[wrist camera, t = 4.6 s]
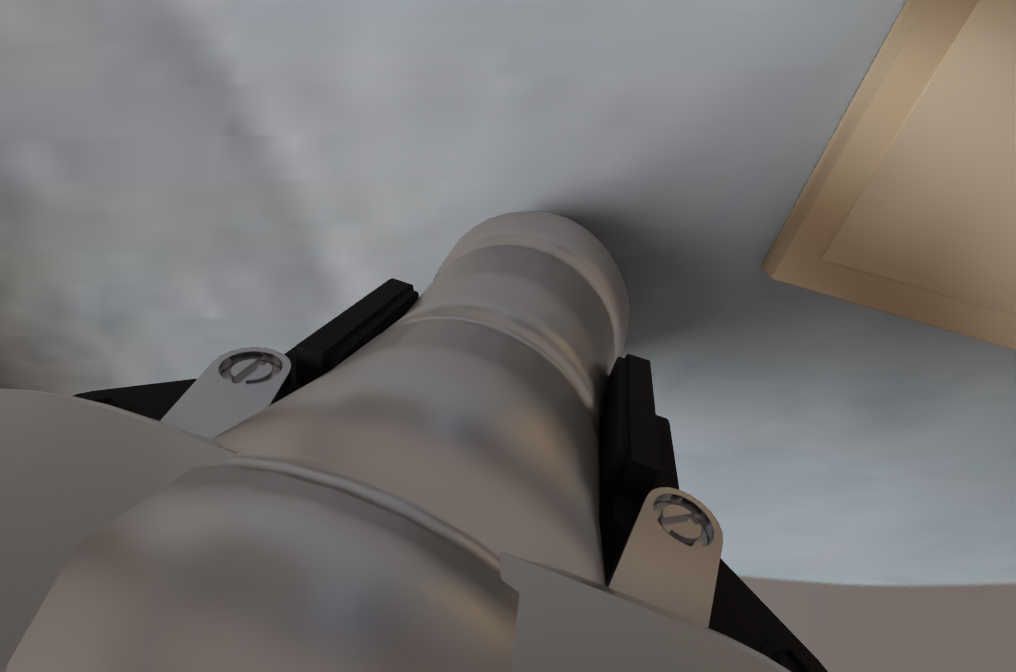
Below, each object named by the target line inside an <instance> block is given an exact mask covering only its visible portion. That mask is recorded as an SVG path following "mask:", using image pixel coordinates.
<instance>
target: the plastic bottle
mask: <svg viewBox="0 0 1016 672" xmlns="http://www.w3.org/2000/svg"><path fill="white" fill-rule="evenodd" d="M629 322H630V304H629V298H628V294H627V290H626V285H625V282H624V280H623V278H622V276H621V273H620V271H619V269H618V267H617V265H616V263H615V261H614V260H613V258H612V256H611V255H610V254H609V252H608V251H607V250H606V248H605V247H604V245H603V244H602V243H601V242H600V241H599V240H598V239H597V238H596V237H595V236H594V235H593V234H592V233H591V232H589V231H588V230H587V229H586V228H584V227H582V226H581V225H579V224H577V223H576V222H574V221H572V220H570V219H567V218H565V217H562V216H559V215H556V214H552V213H546V212H539V211H531V212H516V213H507V214H503V215H500V216H496V217H493V218H489V219H488V220H486V221H484V222H482V223H480V224H478V225H477V226H475V227H473V228H472V229H471V230H470V231H468V232H467V233H466V234H465V235H464V236H463V237H462V238H461V239H460V240H459V241H458V242H457V244H456V245H455V246H454V248H453V249H452V251H451V252H450V253H449V255H448V256H447V257H446V259H445V260H444V262H443V263H442V264H441V266H440V267H439V269H438V271H437V273H436V275H435V278H434V280H433V282H432V283H431V284H430V286H429V287H428V288H427V289H426V290H425V291H424V293H423V294H422V295H421V296H420V297H419V298H418V300H417V301H416V302H415V303H414V304H413V305H412V307H411V308H410V309H409V310H408V311H407V312H406V314H405V315H404V316H403V317H402V318H401V319H399V320H398V321H397V322H395V323H394V324H392V325H391V326H390V327H389V328H388V329H386V330H385V331H384V332H383V333H382V334H380V335H378V336H376V337H375V338H374V339H372V340H371V341H370V342H368V343H367V344H366V345H364V346H363V347H362V348H360V349H359V350H358V351H356V352H355V353H354V354H352V355H351V356H349V357H348V358H347V359H345V360H344V361H343V362H341V363H340V364H339V365H337V366H336V367H335V368H333V369H332V370H331V371H329V372H328V373H326V374H324V375H322V376H321V377H319V378H317V379H315V380H314V381H312V382H310V383H308V384H307V385H305V386H303V387H302V388H300V389H298V390H296V391H295V392H293V393H291V394H289V395H288V396H286V397H284V398H282V399H281V400H279V401H277V402H275V403H274V404H272V405H270V406H268V407H267V408H265V409H263V410H261V411H260V412H258V413H256V414H254V415H253V416H251V417H249V418H247V419H246V420H244V421H242V422H240V423H239V424H237V425H235V426H234V427H232V428H230V429H228V430H227V431H225V432H223V433H221V434H220V435H218V436H216V437H214V438H213V439H212V440H215V442H217V443H219V444H220V445H221V446H223V447H224V448H225V449H228V450H230V451H233V452H236V453H237V454H238V455H236V456H234V457H233V458H231V459H229V460H227V461H226V462H224V463H222V464H220V465H219V466H203V467H193V468H191V469H189V470H188V471H186V472H185V473H184V474H182V475H181V476H179V477H178V478H176V479H175V480H174V481H172V482H171V483H169V484H168V485H166V486H165V487H164V488H162V489H161V490H159V491H158V492H156V493H155V494H153V495H152V496H150V497H149V498H147V499H146V500H144V501H143V502H141V503H140V504H138V505H137V506H135V507H134V508H132V509H131V510H129V511H128V512H126V513H124V514H123V515H121V516H120V517H118V518H117V519H115V520H113V521H112V522H110V523H109V524H107V525H105V526H104V527H102V528H101V529H99V530H97V531H96V532H94V533H93V534H91V535H89V536H88V537H86V538H85V539H83V540H81V541H80V542H78V543H77V545H76V547H75V548H74V550H73V552H72V554H71V555H70V557H69V559H68V560H67V562H66V564H65V566H64V567H63V569H62V571H61V573H60V574H59V576H58V578H57V579H56V581H55V583H54V585H53V586H52V588H51V590H50V592H49V593H48V595H47V597H46V598H45V600H44V602H43V604H42V605H41V607H40V609H39V610H38V612H37V614H36V616H35V617H34V619H33V621H32V623H31V624H30V626H29V628H28V629H27V631H26V633H25V635H24V636H23V638H22V640H21V642H20V643H19V645H18V647H17V648H16V650H15V652H14V654H13V655H12V657H11V659H10V661H9V662H8V665H7V668H6V671H5V672H511V663H512V652H513V644H514V636H515V628H516V620H517V612H518V603H519V595H520V593H519V592H517V591H516V590H515V589H513V588H512V587H511V586H509V585H508V584H507V583H505V582H504V581H503V580H501V561H500V552H504V553H507V554H509V555H512V556H515V557H518V558H520V559H523V560H527V561H531V562H536V563H540V564H544V565H548V566H551V567H554V568H558V569H561V570H565V571H567V572H570V573H573V574H575V575H578V576H580V577H583V578H586V579H588V580H591V581H594V582H596V583H599V584H601V585H604V586H606V581H605V571H604V561H603V552H602V542H601V532H600V523H599V492H600V461H599V449H600V419H601V414H602V410H603V405H604V400H605V395H606V391H607V386H608V380H609V375H610V373H611V371H612V368H613V366H614V364H615V361H616V359H617V358H618V357H621V354H622V351H623V347H624V344H625V341H626V337H627V332H628V327H629Z"/></svg>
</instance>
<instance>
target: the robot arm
mask: <svg viewBox="0 0 1016 672" xmlns="http://www.w3.org/2000/svg"><path fill="white" fill-rule="evenodd" d="M418 298H419V294H418V292H416V291H414V289H413V285H411V284H408V283H405V282H402V281H399V280H396V279H393V278H392V279H390V280H388V281H387V282H385V283H384V284H382V285H381V286H380V287H378V288H377V289H375V290H374V291H373V292H371V293H370V294H368V295H367V296H365V297H364V298H363V299H361V300H360V301H358V302H357V303H356V304H354V305H353V306H351V307H350V308H348V309H347V310H346V311H344V312H343V313H341V314H340V315H339V316H337V317H336V318H334V319H333V320H331V321H330V322H329V323H327V324H326V325H324V326H323V327H322V328H320V329H319V330H317V331H316V332H314V333H313V334H312V335H310V336H309V337H307V338H306V339H305V340H303V341H302V342H300V343H299V344H297V345H296V346H295V347H294V348H292V349H291V350H290V351H288V352H287V353H285V354H283V353H281V352H278V351H276V350H273V349H268V348H259V347H250V348H241V349H237V350H233V351H229V352H227V353H225V354H223V355H221V356H219V357H218V358H217V359H215V360H214V361H213V362H212V363H211V364H210V365H209V366H208V368H207V369H206V370H205V371H204V372H203V373H202V374H201V375H200V377H199V378H198V379H190V380H182V381H173V382H165V383H157V384H148V385H140V386H132V387H123V388H115V389H106V390H98V391H91V392H86V393H81V394H76V395H73V396H69V395H62V394H55V393H49V392H42V391H33V390H15V389H0V672H5V671H6V668H7V665H8V662H9V661H10V659H11V657H12V655H13V654H14V652H15V650H16V648H17V647H18V645H19V643H20V642H21V640H22V638H23V636H24V635H25V633H26V631H27V629H28V628H29V626H30V624H31V623H32V621H33V619H34V617H35V616H36V614H37V612H38V610H39V609H40V607H41V605H42V604H43V602H44V600H45V598H46V597H47V595H48V593H49V592H50V590H51V588H52V586H53V585H54V583H55V581H56V579H57V578H58V576H59V574H60V573H61V571H62V569H63V567H64V566H65V564H66V562H67V560H68V559H69V557H70V555H71V554H72V552H73V550H74V548H75V547H76V545H77V543H78V542H80V541H81V540H83V539H85V538H86V537H88V536H89V535H91V534H93V533H94V532H96V531H97V530H99V529H101V528H102V527H104V526H105V525H107V524H109V523H110V522H112V521H113V520H115V519H117V518H118V517H120V516H121V515H123V514H124V513H126V512H128V511H129V510H131V509H132V508H134V507H135V506H137V505H138V504H140V503H141V502H143V501H144V500H146V499H147V498H149V497H150V496H152V495H153V494H155V493H156V492H158V491H159V490H161V489H162V488H164V487H165V486H166V485H168V484H169V483H171V482H172V481H174V480H175V479H176V478H178V477H179V476H181V475H182V474H184V473H185V472H186V471H188V470H189V469H191V468H193V467H203V466H219V465H220V464H222V463H224V462H226V461H227V460H229V459H231V458H233V457H234V456H236V455H238V454H237V453H236V452H233V451H230V450H228V449H225V448H224V447H223V446H221V445H220V444H219V443H217V442H215V440H212V439H213V438H214V437H216V436H218V435H220V434H221V433H223V432H225V431H227V430H228V429H230V428H232V427H234V426H235V425H237V424H239V423H240V422H242V421H244V420H246V419H247V418H249V417H251V416H253V415H254V414H256V413H258V412H260V411H261V410H263V409H265V408H267V407H268V406H270V405H272V404H274V403H275V402H277V401H279V400H281V399H282V398H284V397H286V396H288V395H289V394H291V393H293V392H295V391H296V390H298V389H300V388H302V387H303V386H305V385H307V384H308V383H310V382H312V381H314V380H315V379H317V378H319V377H321V376H322V375H324V374H326V373H328V372H329V371H331V370H332V369H333V368H335V367H336V366H337V365H339V364H340V363H341V362H343V361H344V360H345V359H347V358H348V357H349V356H351V355H352V354H354V353H355V352H356V351H358V350H359V349H360V348H362V347H363V346H364V345H366V344H367V343H368V342H370V341H371V340H372V339H374V338H375V337H376V336H378V335H380V334H382V333H383V332H384V331H385V330H386V329H388V328H389V327H390V326H391V325H392V324H394V323H395V322H397V321H398V320H399V319H401V318H402V317H403V316H404V315H405V314H406V312H407V311H408V310H409V309H410V308H411V307H412V305H413V304H414V303H415V302H416V301H417V300H418ZM599 461H600V492H599V523H600V532H601V542H602V552H603V561H604V571H605V581H606V586H604V585H601V584H599V583H596V582H594V581H591V580H588V579H586V578H583V577H580V576H578V575H575V574H573V573H570V572H567V571H565V570H561V569H558V568H554V567H551V566H548V565H544V564H540V563H536V562H531V561H527V560H523V559H520V558H518V557H515V556H512V555H509V554H507V553H504V552H500V561H501V580H503V581H504V582H505V583H507V584H508V585H509V586H511V587H512V588H513V589H515V590H516V591H517V592H519V593H520V595H519V603H518V612H517V620H516V628H515V636H514V644H513V652H512V663H511V672H828V671H827V670H826V669H825V668H824V667H823V665H822V664H821V663H820V662H819V661H818V659H817V658H816V657H815V656H814V655H813V654H812V653H811V652H810V651H809V650H808V649H807V648H806V647H805V646H804V645H803V644H802V643H801V642H800V641H799V640H798V639H797V638H796V637H795V635H793V634H792V633H791V631H790V630H789V629H788V628H787V627H786V626H785V625H784V624H783V623H782V622H781V621H780V620H779V619H778V618H777V617H776V616H775V615H774V614H773V613H772V612H771V610H770V609H768V607H766V605H765V604H764V603H763V602H762V601H761V600H760V599H759V598H758V597H757V596H756V595H755V594H754V593H753V592H752V591H751V590H750V589H749V588H748V587H747V585H746V584H745V583H744V582H743V581H742V580H741V579H740V578H739V577H738V576H737V575H736V574H735V573H734V572H733V571H732V570H731V569H730V568H729V567H728V566H727V565H726V564H725V563H724V562H723V560H722V559H721V558H720V556H721V551H722V545H723V534H722V530H721V528H720V525H719V523H718V521H717V520H716V518H715V517H714V515H713V514H712V512H711V511H710V510H709V509H708V508H707V507H706V506H705V505H704V504H703V503H701V502H700V501H699V500H697V499H696V498H694V497H693V496H691V495H690V494H687V493H685V492H683V491H681V490H679V485H678V478H677V471H676V465H675V458H674V451H673V444H672V437H671V431H670V424H669V421H668V419H666V418H663V417H660V416H657V415H656V413H655V404H654V394H653V385H652V375H651V366H650V361H649V360H646V359H643V358H640V357H636V356H633V355H630V354H627V356H626V357H625V358H621V357H618V358H617V359H616V361H615V364H614V366H613V368H612V371H611V373H610V375H609V380H608V386H607V391H606V395H605V400H604V405H603V410H602V414H601V419H600V449H599Z"/></svg>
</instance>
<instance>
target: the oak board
mask: <svg viewBox="0 0 1016 672" xmlns="http://www.w3.org/2000/svg"><path fill="white" fill-rule="evenodd" d="M761 268H762V269H763V270H764V271H765V272H766V273H767V274H768V276H769V277H770V278H772V279H775V280H778V281H782V282H785V283H789V284H792V285H795V286H799V287H802V288H806V289H809V290H812V291H816V292H819V293H823V294H826V295H829V296H833V297H836V298H840V299H843V300H846V301H850V302H853V303H857V304H860V305H863V306H867V307H870V308H874V309H877V310H880V311H884V312H887V313H891V314H894V315H897V316H901V317H904V318H908V319H911V320H914V321H918V322H921V323H925V324H928V325H931V326H935V327H938V328H942V329H945V330H948V331H952V332H955V333H959V334H962V335H965V336H969V337H972V338H976V339H979V340H982V341H986V342H989V343H993V344H996V345H999V346H1003V347H1006V348H1010V349H1013V350H1016V0H907V1H906V3H905V5H904V7H903V8H902V10H901V12H900V14H899V16H898V18H897V19H896V21H895V23H894V25H893V27H892V29H891V30H890V32H889V34H888V36H887V38H886V39H885V41H884V43H883V45H882V47H881V49H880V50H879V52H878V54H877V56H876V58H875V60H874V61H873V63H872V65H871V67H870V69H869V70H868V72H867V74H866V76H865V78H864V80H863V81H862V83H861V85H860V87H859V89H858V91H857V92H856V94H855V96H854V98H853V100H852V101H851V103H850V105H849V107H848V109H847V111H846V112H845V114H844V116H843V118H842V120H841V122H840V123H839V125H838V127H837V129H836V131H835V133H834V134H833V136H832V138H831V140H830V142H829V143H828V145H827V147H826V149H825V151H824V153H823V154H822V156H821V158H820V160H819V162H818V164H817V165H816V167H815V169H814V171H813V173H812V174H811V176H810V178H809V180H808V182H807V184H806V185H805V187H804V189H803V191H802V193H801V195H800V196H799V198H798V200H797V202H796V204H795V205H794V207H793V209H792V211H791V213H790V215H789V216H788V218H787V220H786V222H785V224H784V226H783V227H782V229H781V231H780V233H779V235H778V236H777V238H776V240H775V242H774V244H773V246H772V247H771V249H770V251H769V253H768V255H767V257H766V258H765V260H764V262H763V264H762V266H761Z"/></svg>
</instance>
